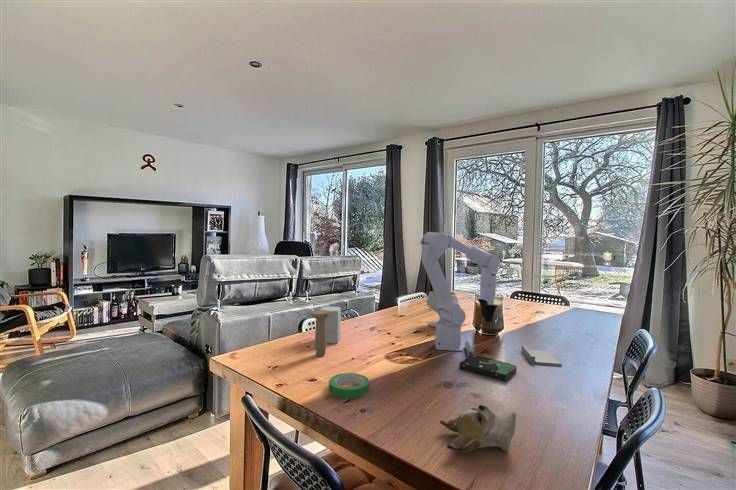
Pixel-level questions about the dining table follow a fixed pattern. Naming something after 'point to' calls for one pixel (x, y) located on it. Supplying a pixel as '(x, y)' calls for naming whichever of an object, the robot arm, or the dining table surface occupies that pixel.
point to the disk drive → (488, 367)
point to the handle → (320, 331)
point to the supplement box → (333, 324)
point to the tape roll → (349, 391)
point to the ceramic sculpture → (481, 429)
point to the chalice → (432, 304)
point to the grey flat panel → (529, 356)
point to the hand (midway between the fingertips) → (486, 319)
